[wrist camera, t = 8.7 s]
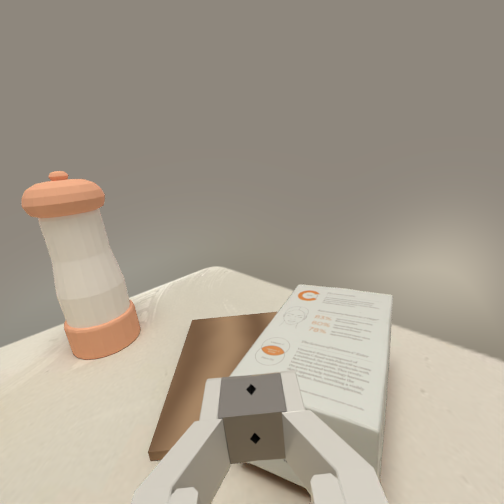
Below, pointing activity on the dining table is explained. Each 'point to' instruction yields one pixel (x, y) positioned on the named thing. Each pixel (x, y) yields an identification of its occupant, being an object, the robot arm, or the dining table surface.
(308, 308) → the small box
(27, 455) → the dining table surface
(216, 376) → the walnut board
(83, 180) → the pepper shaker
